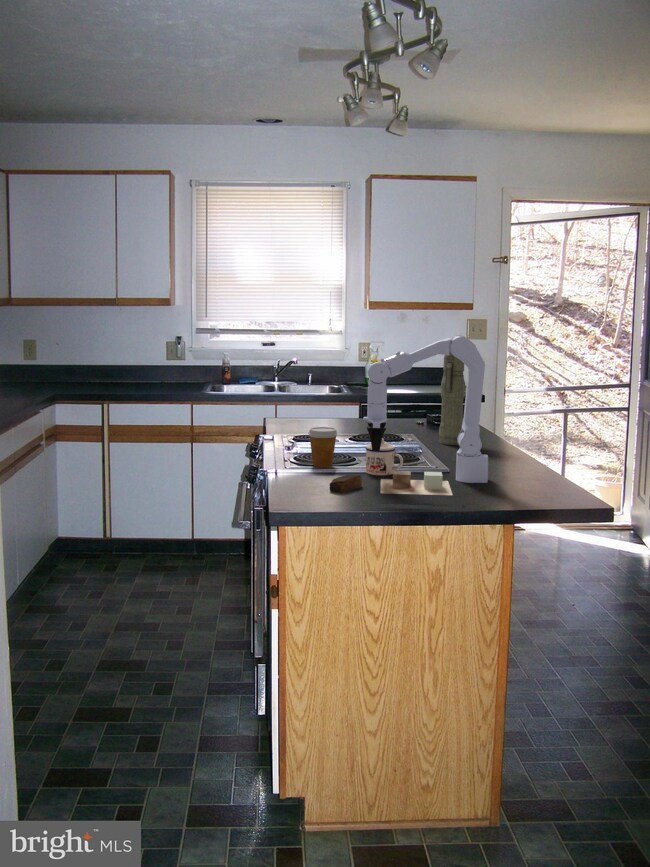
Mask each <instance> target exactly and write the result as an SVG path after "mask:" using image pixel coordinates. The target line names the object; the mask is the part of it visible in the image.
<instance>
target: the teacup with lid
mask: <svg viewBox="0 0 650 867" xmlns="http://www.w3.org/2000/svg"><path fill="white" fill-rule="evenodd" d="M384 440H385V439H384V438H383V437H382V441H381V447H380V450H379V451H373V450H372V446H371V443H370V444H367V445H366V446H365V450H366V452H365V455H366V456H365V473H366V474H368V475H372V476H389V475H393V471H398V470H400V468H401V467H402V466H403V463H404V458H403V456H402V455H401V454H399V453H395V450H396V447H395V446H394V445H393V444H390V443H388V442H387V441H384ZM395 457H397V458H398V459H399V464H398V466H396V467H395Z"/></svg>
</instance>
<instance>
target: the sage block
mask: <svg viewBox="0 0 650 867" xmlns="http://www.w3.org/2000/svg"><path fill="white" fill-rule="evenodd" d="M443 478H444V476H443V472H442V471H424V472H423V480H424V489H438V490H442V481H444V480H443Z"/></svg>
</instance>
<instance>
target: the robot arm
mask: <svg viewBox="0 0 650 867" xmlns="http://www.w3.org/2000/svg"><path fill="white" fill-rule="evenodd" d="M479 351H480V350H478V347H477V346H476V344H475V343H473V342H472V340H470V339H469V338H468V337H466V336H464V335H462V334H456V335H454V336H452V337H447V338H446V337H445V338H443V339H439V340H437V341H435V342H433V343H430V344H428V345H426V346H424V347H422V348H419V349H417V350H415V351H413V352H410V353H408V352H406V351H401V352H400V351H396V352H395V353H394V354H393V355H391V356H389V357H387V358H385V359H384V358H380V360H379V361H380V362H379V361H377V362H373V363H371V364H370V366H369V367H368V370H367V376H368V378H369V379H368V381H367V382H368V383H367V384H368V385H367V386H368V387H367V405H366V406H367V407H366V409H367V412H366V414H367V415H366V416H364V417H363V418H362V420H363V421H367V426H366V430H367V432H368V434H369V438H370V444H371V446H372V450H373V451H379V450H380V447H381V441H382V438H383V437H384V434H385V432H386V430H387V428H386V424H387V422H386V421H388V417H387V410H388V408H387V407H388V405H387V404H388V403H387V401H388V400H387V398H388V387H387V379H388V378H393V377H396V376H398V375H401V374H403V373H405V372H408V371H410V370H412V367H413V365H414V364H416V363H419V362H421V361H423V360H427V359H429V358H431V357H435V356H437V355H441V356H442V355H443V356H444V355H449V352H451V354H453V355H454V356H455V357H456V358H458V359H460V360H462V362H463V363H464V366H466V367H467V377H466V378H467V379H466V386H465V397H464V399H465V400H464V407H463V418H462V429H461V432H460V434H459V435H458V438H457V442H458V444H459V445H458V446H459V449H458V450H456V461H455V463H456V464H455V481H457V482H460V483H468V484H474V483H476V484H479V483H480V484H481V483H482V484H487V483H488V480H489V479H488V478H489V456H488V454H482V452H481V449H482V447H483V446H482V445H483V444H482V440H481V438H480V434H481V430H480V419H481V418H480V417H481V409H482V398H483V390H484V379H485V370H486V369H485V368H486V362H485V360H484V359H483V357H482V355H481V353H480V352H479Z"/></svg>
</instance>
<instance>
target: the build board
mask: <svg viewBox="0 0 650 867" xmlns="http://www.w3.org/2000/svg"><path fill="white" fill-rule="evenodd" d="M380 494H389V495H390V494H392V495H393V494H394V495H395V494H397V495H423V496H424V495H425V496H426V495H428V496H430V495H431V496H453V492H452V488H451V486H450V483H449V481H448V480H442V490H438V489H424V479H411V486H410V489H408V488H393V478H392V479H391V478H380Z"/></svg>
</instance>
